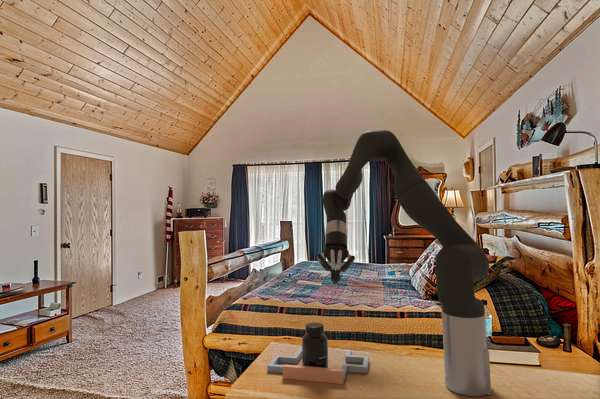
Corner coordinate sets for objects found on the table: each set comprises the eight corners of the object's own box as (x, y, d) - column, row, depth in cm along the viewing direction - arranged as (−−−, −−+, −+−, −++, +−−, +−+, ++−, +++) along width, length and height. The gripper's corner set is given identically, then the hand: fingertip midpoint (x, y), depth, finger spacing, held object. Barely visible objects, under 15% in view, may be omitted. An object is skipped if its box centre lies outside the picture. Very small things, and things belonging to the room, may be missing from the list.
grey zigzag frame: (369, 356, 102) (369, 345, 103) (365, 386, 85) (364, 373, 85) (284, 350, 109) (284, 340, 109) (263, 376, 91) (263, 364, 92)
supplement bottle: (326, 377, 90) (324, 329, 90) (299, 375, 91) (298, 328, 92) (330, 366, 96) (328, 321, 97) (305, 364, 98) (304, 320, 99)
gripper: (317, 229, 120) (314, 275, 109) (356, 231, 119) (358, 278, 108) (316, 241, 125) (314, 286, 114) (354, 243, 125) (355, 289, 113)
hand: (335, 282), depth 111 cm, fingers closed
